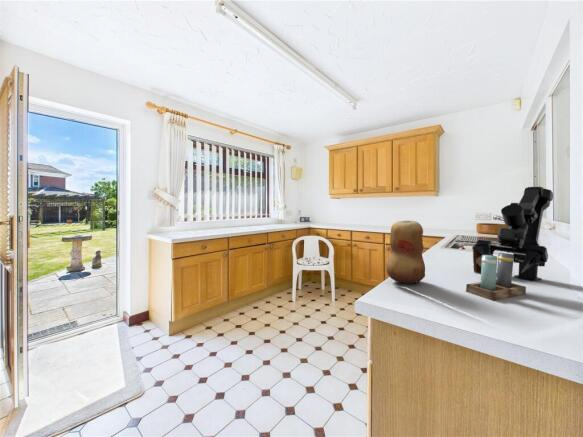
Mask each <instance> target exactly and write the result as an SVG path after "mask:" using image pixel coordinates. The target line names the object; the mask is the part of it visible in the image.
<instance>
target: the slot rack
mask: <svg viewBox="0 0 583 437" xmlns="http://www.w3.org/2000/svg"><path fill="white" fill-rule="evenodd" d="M480 285H481V281H478V282H471V283H468V284H467V283H466V286H465V287H466V289H465V292H466V293H468V294H471V295H474V296H478V297H480V298H482V299H483V298H484V299H486V300H490V301H492V302H496V301H501V300H506V299H510V298H515V297H520V296H526V295H527V292H526V291H527V290H526V289H527V286H524V285H522V284H521V285H520V284H517V283H513V282H512V283H511V288H505V287H501V286H498V285H496V291H489V290H486V289H483V288H480Z"/></svg>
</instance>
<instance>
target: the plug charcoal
mask: <svg viewBox="0 0 583 437" xmlns="http://www.w3.org/2000/svg"><path fill="white" fill-rule="evenodd" d="M513 269H514V255H513V253H507V252H499V253H498V255H497V273H496V285H498V286H501V287H505V288H511V283H513V282H512V281H513V280H512V279H513V271H514V270H513Z"/></svg>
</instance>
